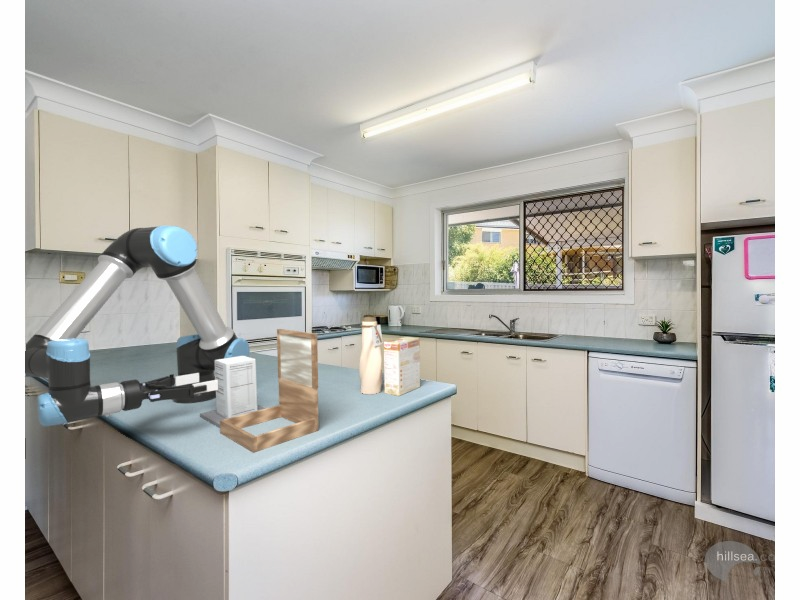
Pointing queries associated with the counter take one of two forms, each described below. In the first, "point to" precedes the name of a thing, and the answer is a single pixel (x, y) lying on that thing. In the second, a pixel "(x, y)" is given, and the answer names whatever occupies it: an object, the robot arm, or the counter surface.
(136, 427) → the counter surface
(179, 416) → the counter surface
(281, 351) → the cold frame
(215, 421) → the mat
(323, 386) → the counter surface
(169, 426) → the counter surface
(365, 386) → the water bottle
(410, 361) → the coffeecake box
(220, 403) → the supplement box
